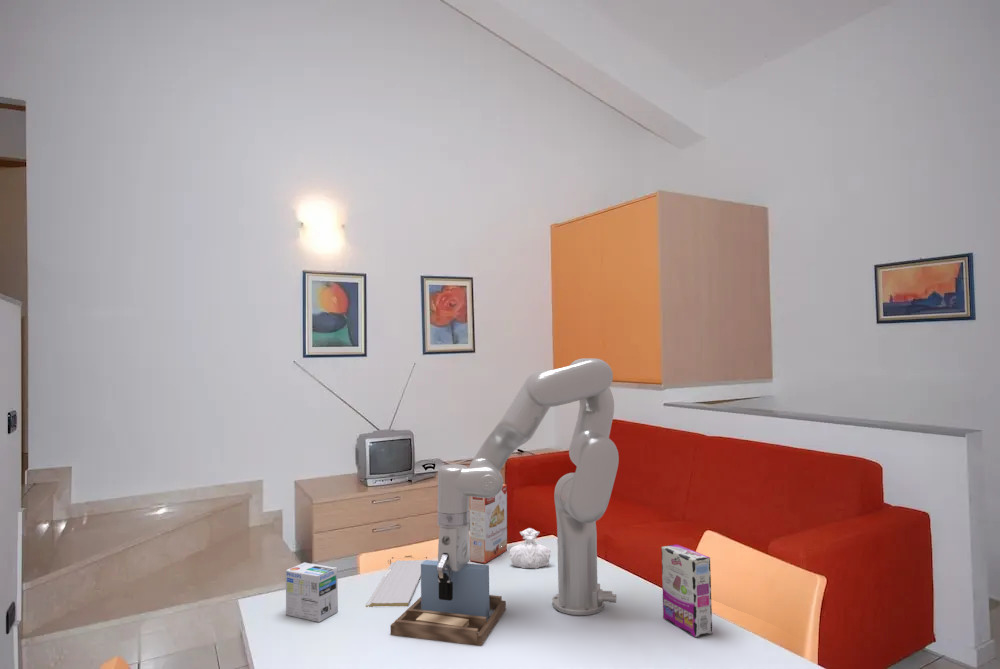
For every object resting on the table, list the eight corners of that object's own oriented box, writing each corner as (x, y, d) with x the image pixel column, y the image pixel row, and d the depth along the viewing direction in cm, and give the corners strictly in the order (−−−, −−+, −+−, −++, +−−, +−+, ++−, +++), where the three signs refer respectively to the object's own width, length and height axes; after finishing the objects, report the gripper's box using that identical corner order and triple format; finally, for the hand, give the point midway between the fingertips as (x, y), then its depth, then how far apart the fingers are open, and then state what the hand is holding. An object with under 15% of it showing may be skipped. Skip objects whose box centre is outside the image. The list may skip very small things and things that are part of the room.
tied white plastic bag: (551, 572, 175) (549, 534, 182) (551, 563, 169) (549, 524, 176) (509, 572, 175) (510, 534, 183) (508, 563, 170) (509, 524, 177)
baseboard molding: (359, 609, 147) (408, 609, 147) (359, 597, 147) (408, 597, 147) (387, 565, 178) (427, 565, 178) (387, 555, 178) (427, 555, 178)
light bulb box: (339, 612, 145) (338, 566, 145) (319, 623, 139) (319, 575, 139) (304, 605, 149) (304, 561, 150) (284, 615, 143) (284, 569, 143)
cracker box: (486, 564, 176) (485, 492, 177) (469, 561, 179) (468, 490, 180) (508, 550, 188) (507, 483, 189) (491, 548, 191) (490, 482, 192)
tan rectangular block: (469, 634, 132) (469, 619, 132) (462, 642, 128) (462, 626, 129) (421, 626, 136) (421, 612, 137) (412, 634, 133) (412, 619, 133)
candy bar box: (714, 634, 130) (711, 557, 130) (695, 638, 128) (693, 560, 128) (679, 614, 140) (677, 542, 141) (662, 618, 138) (660, 545, 139)
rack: (505, 609, 144) (505, 596, 144) (481, 645, 126) (481, 631, 126) (425, 600, 150) (425, 588, 150) (390, 634, 132) (390, 620, 132)
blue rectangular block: (489, 617, 140) (488, 565, 141) (485, 622, 137) (485, 569, 138) (426, 610, 145) (425, 559, 145) (421, 615, 142) (420, 564, 142)
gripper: (455, 529, 133) (455, 608, 132) (480, 510, 149) (479, 580, 148) (424, 526, 135) (423, 604, 134) (451, 508, 151) (451, 577, 151)
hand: (453, 591), depth 141 cm, fingers open, 9 cm apart
